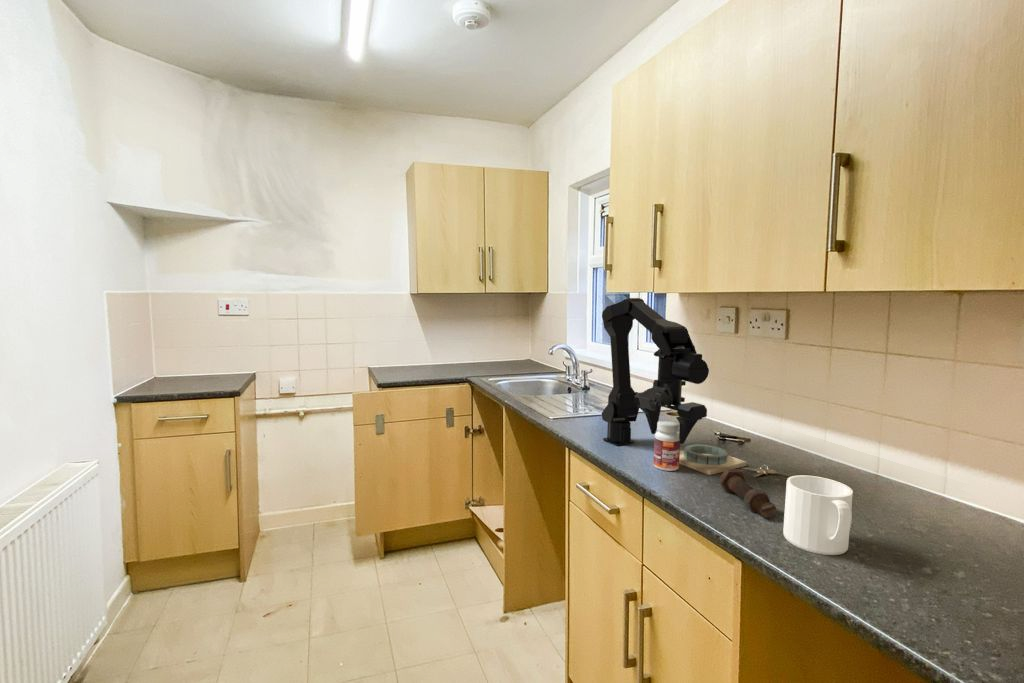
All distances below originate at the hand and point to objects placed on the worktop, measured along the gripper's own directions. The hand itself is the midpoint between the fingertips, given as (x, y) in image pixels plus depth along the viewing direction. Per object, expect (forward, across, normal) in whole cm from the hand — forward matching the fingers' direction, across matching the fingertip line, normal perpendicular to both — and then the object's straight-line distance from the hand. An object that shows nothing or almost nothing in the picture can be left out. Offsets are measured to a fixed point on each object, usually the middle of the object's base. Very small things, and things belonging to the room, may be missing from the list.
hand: (667, 438), depth 128 cm
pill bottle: (+8, 0, 0) cm, 8 cm away
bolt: (+8, +24, -2) cm, 25 cm away
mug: (+8, +41, -6) cm, 42 cm away
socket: (+7, +2, +12) cm, 14 cm away
